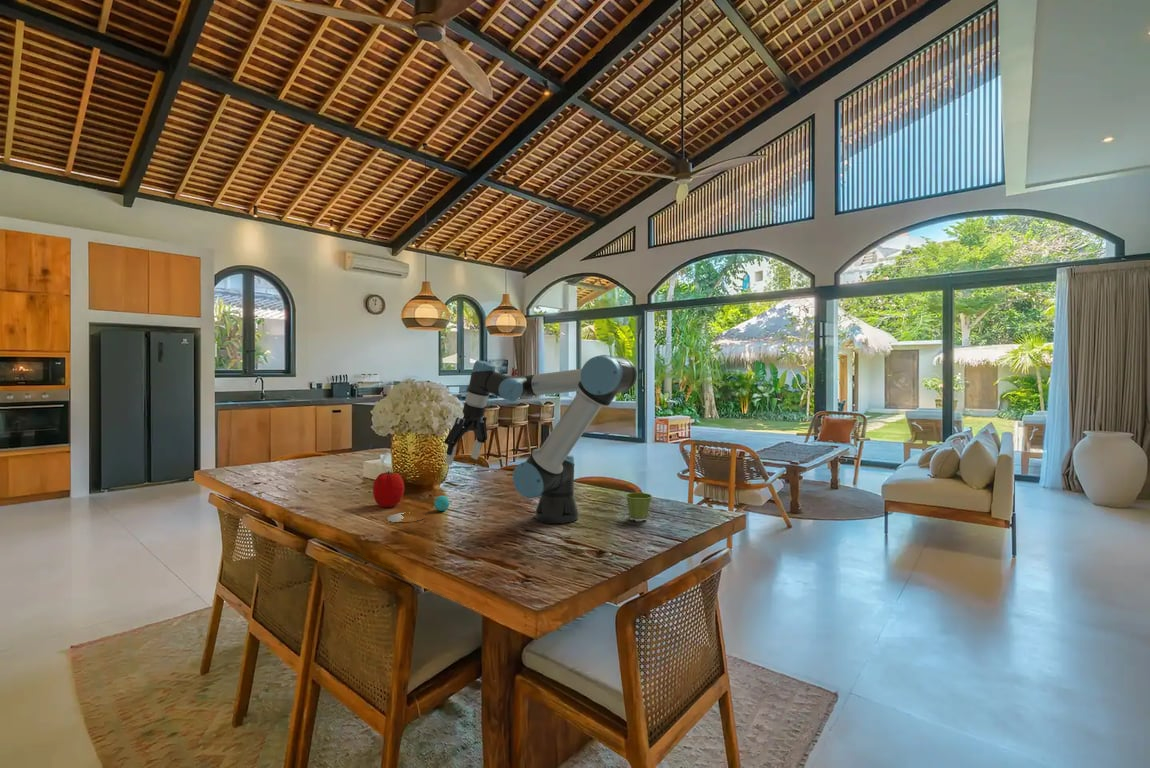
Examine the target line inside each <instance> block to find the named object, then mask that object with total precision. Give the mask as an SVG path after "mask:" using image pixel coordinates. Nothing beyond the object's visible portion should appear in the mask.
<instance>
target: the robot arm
mask: <svg viewBox="0 0 1150 768" xmlns="http://www.w3.org/2000/svg"><path fill="white" fill-rule="evenodd" d="M637 377H638V373H637V368H636V366H635V365H634V363H633V362H632V361H631V360H630V359H628V358H626V357H623V356H612V355H609V354H608V355H607V354H601V355H596V356H593V357H591V358H589V359H588V360H587V361H585V363H584V364H583V366H582V368H576V369H569V370H560V371H554V372H546V373H539V374H538V373H537V374H531V375H506V374H502V373H500V372H497V371H496V365H495V364H494V363H492V362H489V361H486V360H476V361H475V362H474V364H473V367H472V370H471V373H470V379H469V384H468V389H467V393H466V396H465V402H464V403H463V404H464V405H463V408H462V413H463V417H462V418H461V417H456V419H455V422H454V424H453V426H452V428H451V429H450V431H449V432H448V434H447V436H446V438H445V440H444V441H443V443H444V445H445V444H446V445H447V449H446V455H445V458H444V459H445V460H444V463H446V464H448V465H450V466H451V465H453V463H454V457H455V453H456V449H457V446H456V445H457V444H458V442H459V441H460V440H461V439H462V437H463V436H464V435H465V433H468V431H473V434H474V436H475V440H474V443H473V447H472V450H471V451H472V452H471V455H470V458H472V459H474V460H476V461H477V460H478V459H479V454H480V451H481V448H482V446H483V444H485V443H486V441H487V440H488V431H487V420H488V419H487V418H488V417H486V416H485V412H486V406H487V404H488V400H489V395H490V394H492V395H494V396H496V397H499V398H501V399H503V400H505V401H506V400H507V401H510V402H516V401H517V400H518V399H520V398H523V397H524V398H525V397H526V398H529V397H534V396H535V397H536V396H543V395H544V396H545V395H554V394H556V395H557V394H564V393H565V394H566V393H573V392H577V394H576V395H575V397H574V398H573V400H572V401H571V403H570V404H569V406H568V407H567V408H566V410H565V411H564V413H563V414H562V415H561V417H560V419H559V420H558V422H557V423H556V425H555V426H554V427H553V429H552V430H551V432H550V433H549V435H548V436H547V438H546V439H545V441H544V442H543V444H542V445H541V447H540V448H535V449H533V450H532V452H531V453H530V455H529V456H528V458H527V459H526V460H525V461H522V462H520V463H518V465H516V466H515V468H514V469H513V473H512V481H513V486H514V488H515V490H516V491H517V492H518V494H519V495H521V496H522V497H523V498H525V499H526V498H527V499H535V498H536V499H537V498H539V499H538V502H537V506H536V509H535V512H534V516H535V517H534V519H535V518H536V519H537V521H538V522H540V521H541V522H540V523H544V522H547V523H546V524H553V523H561V524H568V523H567V522H570V523H573V522H572V521H574V522H576V521H578V520H579V511H578V507H577V505H576V500H575V496H574V495H575V493H574V490H575V489H574V487H575V486H574V485H575V457H574V455H573V454H572V453H571V451H572V450H573V449H574V447H575V446H576V444H577V443H578V441H579V440H580V439H581V437H582V435H584V434H585V431H586V430H587V429H588V427H589V426H590V425H591V422H592V421H593V420H594V419H595V417H596V416H597V414H598V413H599V411H600V410H601V409H602V408H605V407H609V406H610V404H611V403H612V401H613V400H614V399H615V398H616V396H617V394H622V393H626V392H628V391H629V390H631V389H632V388H633V387H634V385H635V384H636V381H637ZM570 453H571V454H570ZM536 519H535V520H536ZM575 520H576V521H575Z"/></svg>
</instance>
